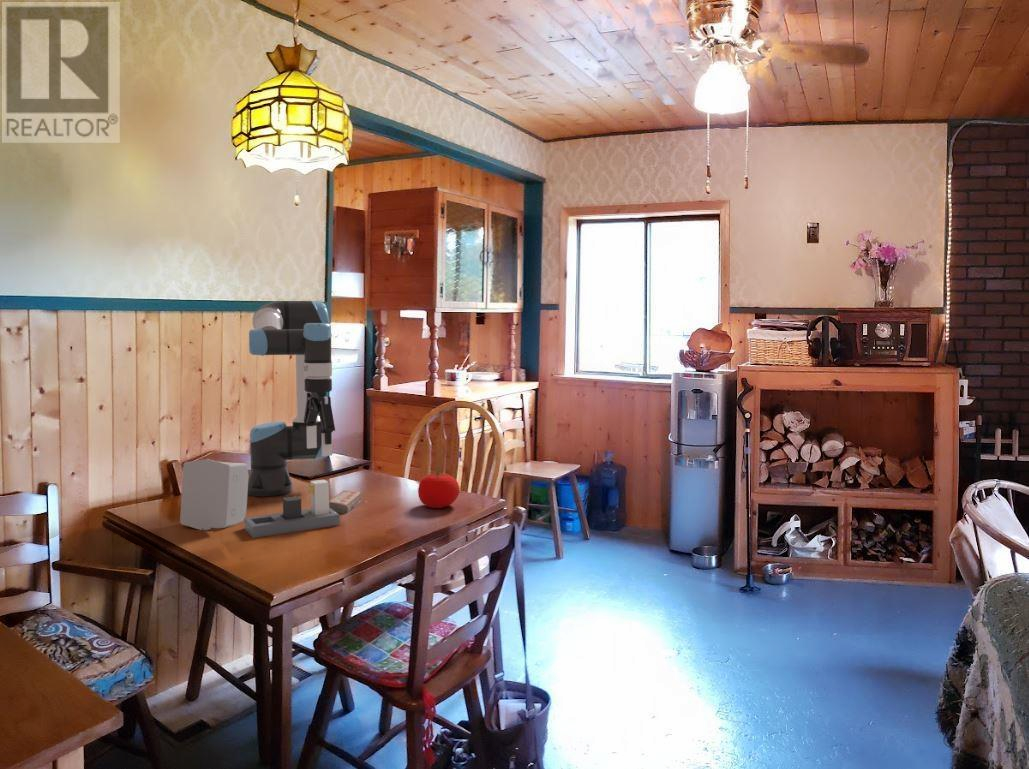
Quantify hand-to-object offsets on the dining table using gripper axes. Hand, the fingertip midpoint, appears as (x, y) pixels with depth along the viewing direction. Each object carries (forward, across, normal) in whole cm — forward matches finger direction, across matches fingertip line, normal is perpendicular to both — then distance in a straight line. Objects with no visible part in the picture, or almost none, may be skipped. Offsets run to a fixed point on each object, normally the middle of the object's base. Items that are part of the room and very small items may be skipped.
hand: (319, 451), depth 216 cm
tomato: (+22, -2, +39) cm, 45 cm away
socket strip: (+22, 0, -8) cm, 23 cm away
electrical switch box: (+22, -18, -24) cm, 37 cm away
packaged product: (+22, -14, +12) cm, 29 cm away
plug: (+21, 0, 0) cm, 21 cm away
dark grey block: (+21, 0, -8) cm, 22 cm away
